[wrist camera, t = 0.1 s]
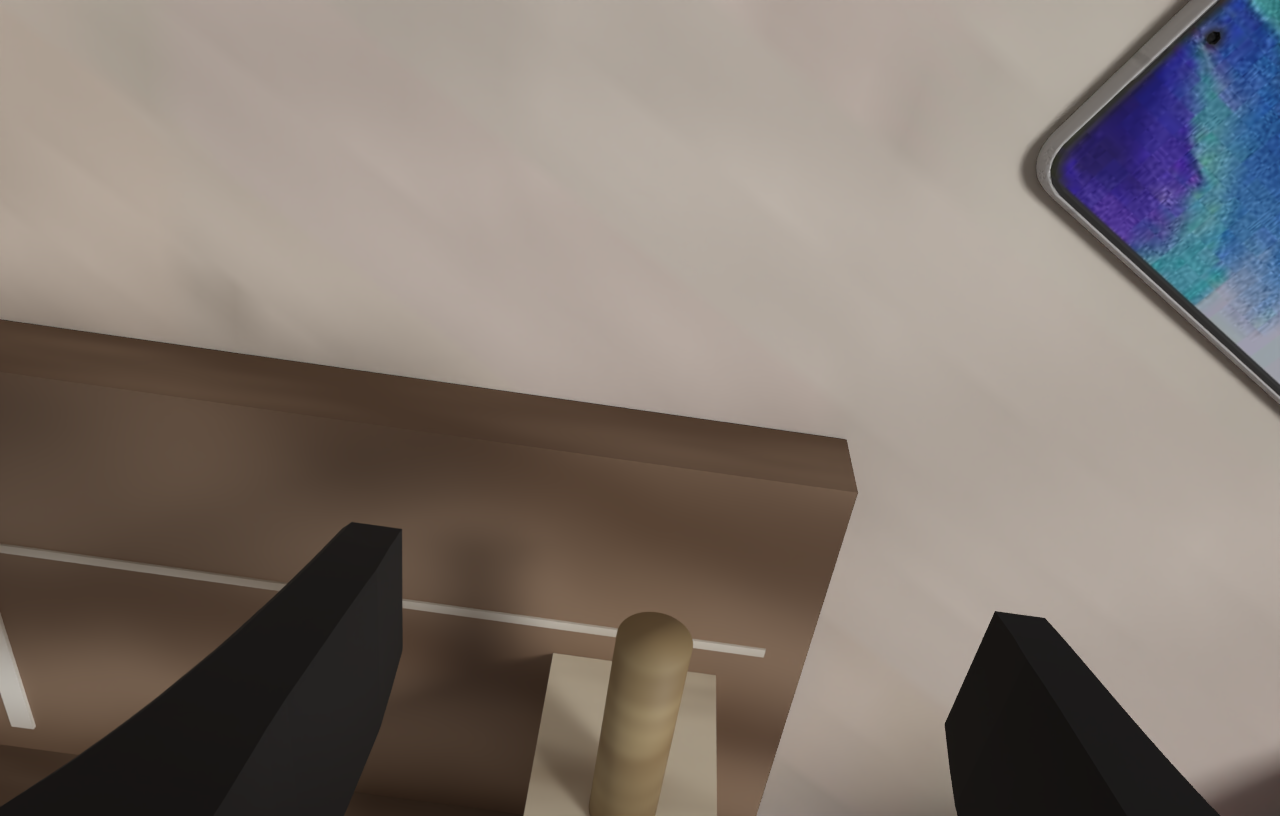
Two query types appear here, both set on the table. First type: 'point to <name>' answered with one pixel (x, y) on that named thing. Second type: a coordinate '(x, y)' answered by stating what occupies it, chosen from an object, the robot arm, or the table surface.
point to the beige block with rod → (628, 729)
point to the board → (431, 550)
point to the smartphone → (1190, 173)
